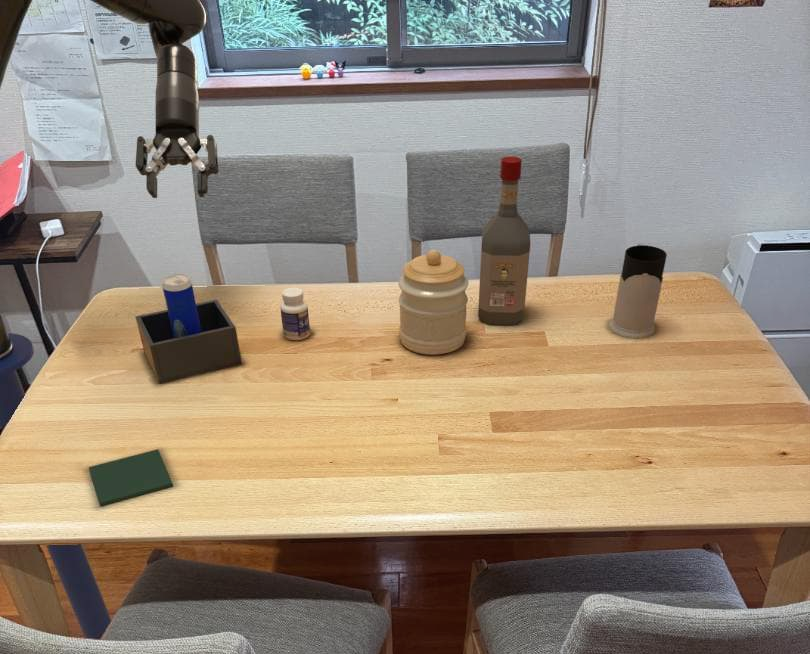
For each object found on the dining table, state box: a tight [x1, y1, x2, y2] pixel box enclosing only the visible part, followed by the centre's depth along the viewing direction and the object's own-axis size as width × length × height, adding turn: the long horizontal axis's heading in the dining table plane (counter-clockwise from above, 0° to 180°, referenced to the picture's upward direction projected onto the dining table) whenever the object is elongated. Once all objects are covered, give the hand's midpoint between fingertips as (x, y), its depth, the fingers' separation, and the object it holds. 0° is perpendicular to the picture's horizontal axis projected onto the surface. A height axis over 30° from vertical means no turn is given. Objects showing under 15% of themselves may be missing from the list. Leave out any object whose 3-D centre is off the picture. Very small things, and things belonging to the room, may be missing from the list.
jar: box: [397, 249, 469, 355], centre depth 152 cm, size 13×13×18 cm
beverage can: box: [161, 273, 202, 338], centre depth 148 cm, size 5×5×15 cm
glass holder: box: [609, 242, 668, 339], centre depth 157 cm, size 9×14×15 cm, turn 173°
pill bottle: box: [279, 287, 311, 341], centre depth 157 cm, size 5×5×9 cm
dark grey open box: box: [135, 299, 243, 384], centre depth 151 cm, size 16×13×8 cm
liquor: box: [477, 156, 531, 326], centre depth 155 cm, size 9×9×30 cm
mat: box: [88, 448, 174, 507], centre depth 126 cm, size 11×10×1 cm
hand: (177, 195), depth 145 cm, fingers open, 8 cm apart
